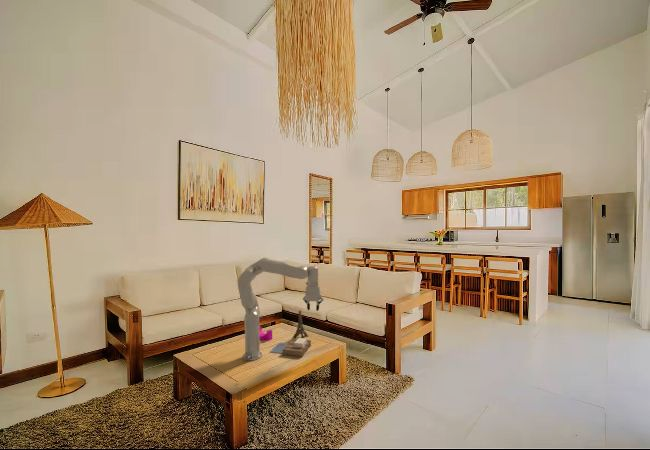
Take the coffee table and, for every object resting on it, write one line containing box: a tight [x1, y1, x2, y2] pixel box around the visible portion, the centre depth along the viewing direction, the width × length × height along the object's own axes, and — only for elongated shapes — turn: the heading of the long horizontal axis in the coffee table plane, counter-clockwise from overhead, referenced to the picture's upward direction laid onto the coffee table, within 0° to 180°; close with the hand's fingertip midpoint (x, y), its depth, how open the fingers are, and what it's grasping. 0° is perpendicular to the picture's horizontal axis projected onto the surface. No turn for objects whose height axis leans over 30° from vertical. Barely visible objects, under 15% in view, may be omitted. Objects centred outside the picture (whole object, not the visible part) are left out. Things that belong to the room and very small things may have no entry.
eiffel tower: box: [291, 310, 309, 340], centre depth 239 cm, size 11×11×25 cm
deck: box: [282, 337, 312, 358], centre depth 215 cm, size 20×14×4 cm
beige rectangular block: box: [294, 337, 308, 348], centre depth 214 cm, size 9×6×3 cm, turn 165°
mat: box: [269, 342, 288, 355], centre depth 218 cm, size 16×10×1 cm, turn 165°
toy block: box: [259, 325, 273, 342], centre depth 237 cm, size 15×6×8 cm, turn 55°
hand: (313, 309), depth 212 cm, fingers open, 5 cm apart
